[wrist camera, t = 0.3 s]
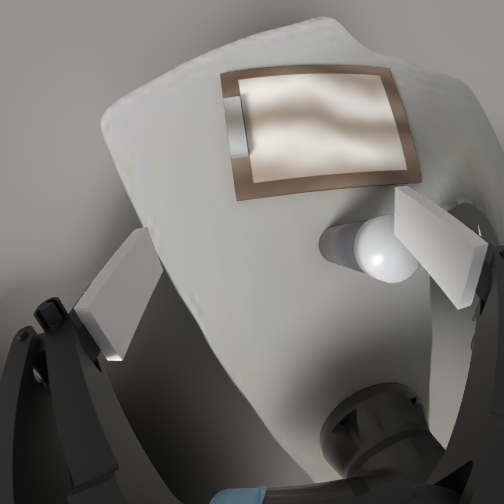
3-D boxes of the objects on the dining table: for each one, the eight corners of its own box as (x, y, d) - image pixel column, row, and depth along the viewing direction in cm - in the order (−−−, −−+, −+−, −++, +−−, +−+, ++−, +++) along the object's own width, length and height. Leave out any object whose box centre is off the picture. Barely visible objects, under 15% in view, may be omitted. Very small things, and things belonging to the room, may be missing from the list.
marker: (356, 260, 29) (423, 276, 15) (320, 266, 29) (367, 288, 15) (351, 223, 29) (417, 211, 15) (315, 227, 29) (360, 217, 15)
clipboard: (418, 183, 28) (427, 180, 26) (237, 201, 29) (235, 198, 27) (385, 72, 28) (391, 64, 26) (221, 77, 29) (218, 68, 27)
